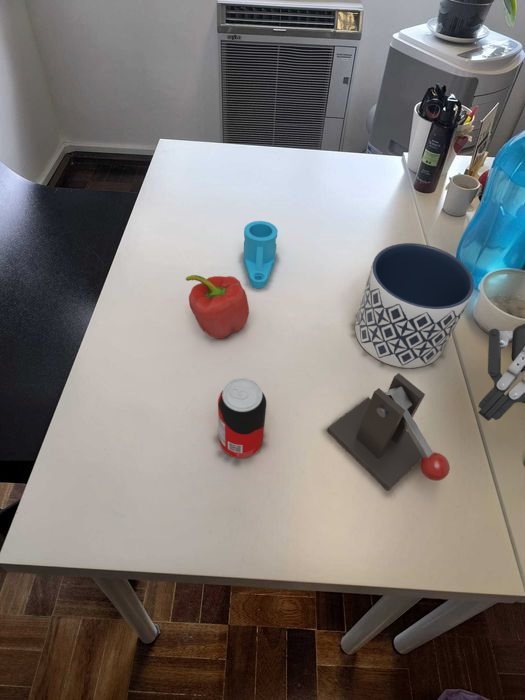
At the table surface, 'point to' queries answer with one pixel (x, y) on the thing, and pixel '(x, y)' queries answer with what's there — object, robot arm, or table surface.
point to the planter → (412, 304)
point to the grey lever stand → (381, 434)
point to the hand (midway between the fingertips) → (483, 416)
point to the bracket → (259, 251)
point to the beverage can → (241, 417)
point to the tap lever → (420, 440)
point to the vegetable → (219, 304)
